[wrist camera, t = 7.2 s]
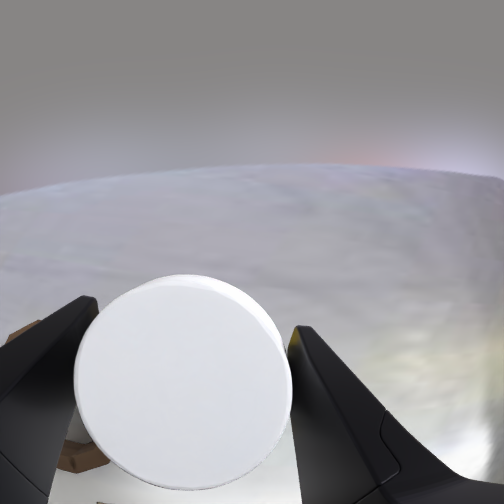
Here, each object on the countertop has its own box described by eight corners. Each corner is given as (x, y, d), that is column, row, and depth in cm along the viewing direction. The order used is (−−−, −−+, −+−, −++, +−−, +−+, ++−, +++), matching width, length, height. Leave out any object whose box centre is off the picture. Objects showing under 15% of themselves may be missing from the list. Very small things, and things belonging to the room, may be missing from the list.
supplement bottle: (267, 396, 14) (360, 469, 5) (159, 427, 13) (100, 537, 4) (233, 289, 15) (276, 208, 6) (125, 319, 14) (12, 283, 5)
